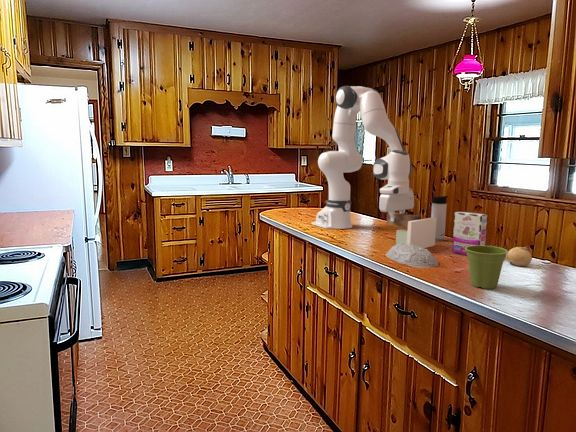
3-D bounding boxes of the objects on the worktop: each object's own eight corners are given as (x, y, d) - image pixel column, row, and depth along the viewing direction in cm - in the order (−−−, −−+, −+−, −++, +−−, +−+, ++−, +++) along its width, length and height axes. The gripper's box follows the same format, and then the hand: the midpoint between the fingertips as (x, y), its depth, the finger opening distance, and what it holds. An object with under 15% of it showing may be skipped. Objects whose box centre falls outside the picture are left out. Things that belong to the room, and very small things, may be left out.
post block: (391, 247, 183) (392, 218, 181) (416, 242, 195) (417, 215, 193) (409, 251, 176) (411, 221, 174) (434, 245, 188) (436, 217, 186)
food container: (416, 269, 150) (418, 249, 149) (374, 256, 173) (375, 239, 172) (451, 269, 156) (453, 250, 156) (406, 256, 179) (407, 240, 178)
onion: (510, 267, 155) (512, 247, 154) (502, 261, 162) (504, 242, 161) (534, 268, 154) (536, 248, 153) (525, 262, 161) (527, 243, 160)
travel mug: (446, 241, 196) (449, 196, 193) (430, 240, 198) (433, 196, 194) (444, 238, 202) (446, 195, 199) (429, 238, 204) (431, 194, 201)
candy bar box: (484, 256, 170) (488, 214, 167) (478, 258, 167) (481, 215, 164) (457, 251, 178) (460, 210, 176) (451, 252, 175) (454, 211, 172)
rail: (386, 224, 193) (387, 211, 192) (391, 223, 195) (392, 211, 194) (414, 228, 182) (414, 215, 181) (419, 227, 184) (419, 215, 184)
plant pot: (479, 277, 141) (482, 243, 140) (513, 288, 131) (517, 251, 129) (453, 282, 136) (456, 247, 134) (487, 294, 125) (490, 255, 124)
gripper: (406, 186, 198) (404, 217, 200) (377, 189, 185) (375, 221, 187) (418, 188, 193) (416, 219, 195) (389, 190, 180) (388, 223, 182)
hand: (396, 220), depth 191 cm, fingers closed on rail, 4 cm apart
